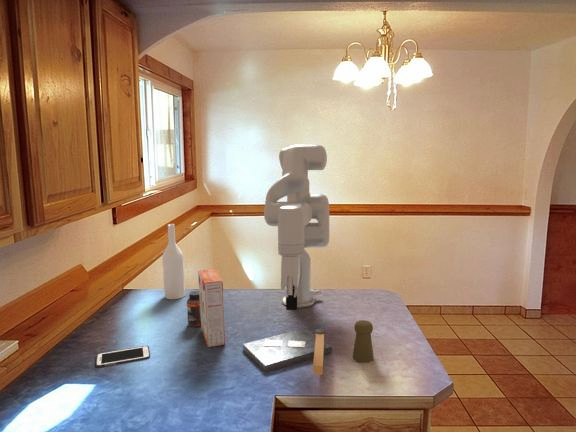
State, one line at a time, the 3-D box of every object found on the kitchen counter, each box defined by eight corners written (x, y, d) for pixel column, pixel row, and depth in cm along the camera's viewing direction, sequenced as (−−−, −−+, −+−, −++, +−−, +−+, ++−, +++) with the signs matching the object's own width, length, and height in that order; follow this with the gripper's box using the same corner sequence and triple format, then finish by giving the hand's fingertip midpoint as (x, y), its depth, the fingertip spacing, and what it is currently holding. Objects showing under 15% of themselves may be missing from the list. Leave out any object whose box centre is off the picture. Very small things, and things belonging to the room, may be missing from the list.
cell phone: (150, 359, 126) (150, 356, 126) (95, 369, 121) (95, 365, 121) (148, 348, 133) (148, 345, 133) (96, 356, 128) (96, 353, 128)
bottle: (174, 300, 172) (170, 226, 167) (160, 297, 176) (156, 225, 172) (189, 294, 179) (185, 223, 174) (174, 291, 183) (171, 221, 178)
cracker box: (200, 330, 145) (197, 269, 141) (218, 327, 147) (215, 268, 143) (206, 348, 132) (203, 282, 128) (225, 345, 134) (223, 280, 130)
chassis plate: (305, 334, 141) (305, 323, 140) (331, 352, 128) (331, 341, 128) (243, 350, 130) (242, 339, 130) (265, 372, 117) (265, 360, 117)
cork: (360, 365, 121) (361, 327, 119) (348, 355, 126) (348, 320, 125) (377, 359, 124) (378, 323, 122) (364, 351, 129) (365, 316, 127)
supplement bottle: (207, 320, 152) (206, 290, 151) (202, 327, 147) (201, 295, 145) (191, 320, 153) (189, 289, 151) (185, 327, 147) (184, 295, 145)
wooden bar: (315, 336, 130) (315, 328, 130) (325, 337, 130) (325, 329, 129) (311, 374, 109) (311, 364, 109) (324, 375, 109) (324, 365, 108)
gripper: (280, 242, 132) (281, 299, 135) (275, 254, 118) (276, 318, 121) (305, 242, 132) (305, 300, 135) (303, 255, 117) (303, 319, 120)
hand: (291, 308), depth 128 cm, fingers closed
